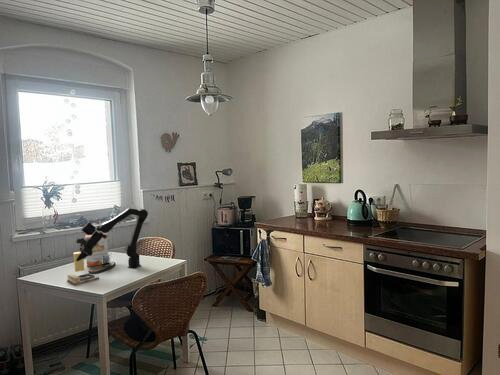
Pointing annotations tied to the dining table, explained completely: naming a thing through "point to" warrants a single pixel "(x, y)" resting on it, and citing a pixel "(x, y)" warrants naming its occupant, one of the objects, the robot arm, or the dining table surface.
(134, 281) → the dining table surface
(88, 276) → the flat tray
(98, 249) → the cracker box
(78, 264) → the pillar
